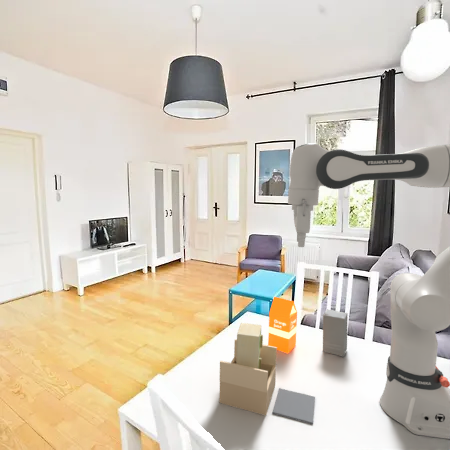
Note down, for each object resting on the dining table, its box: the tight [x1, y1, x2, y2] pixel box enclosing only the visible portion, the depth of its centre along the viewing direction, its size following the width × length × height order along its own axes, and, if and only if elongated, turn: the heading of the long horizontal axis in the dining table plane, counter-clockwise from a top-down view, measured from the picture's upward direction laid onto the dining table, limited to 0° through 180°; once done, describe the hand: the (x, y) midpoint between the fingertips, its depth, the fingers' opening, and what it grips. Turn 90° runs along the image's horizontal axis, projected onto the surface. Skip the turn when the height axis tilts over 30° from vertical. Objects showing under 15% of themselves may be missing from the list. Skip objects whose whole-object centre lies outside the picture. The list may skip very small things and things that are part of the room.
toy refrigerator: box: [236, 322, 264, 369], centre depth 91 cm, size 8×7×21 cm
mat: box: [272, 387, 316, 425], centre depth 87 cm, size 11×11×1 cm
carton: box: [219, 338, 278, 416], centre depth 91 cm, size 14×14×13 cm
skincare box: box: [322, 309, 348, 357], centre depth 117 cm, size 8×7×16 cm
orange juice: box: [267, 296, 298, 354], centre depth 120 cm, size 8×9×20 cm
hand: (300, 244), depth 91 cm, fingers open, 8 cm apart
